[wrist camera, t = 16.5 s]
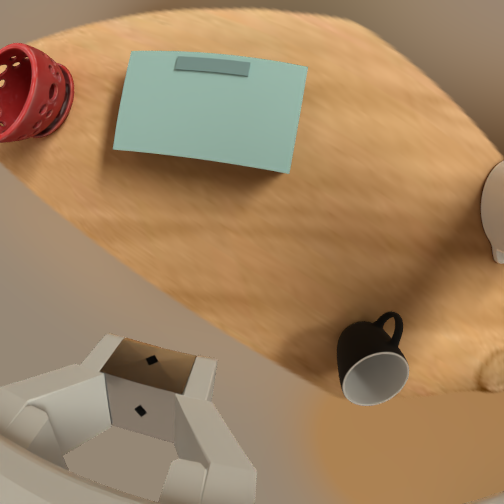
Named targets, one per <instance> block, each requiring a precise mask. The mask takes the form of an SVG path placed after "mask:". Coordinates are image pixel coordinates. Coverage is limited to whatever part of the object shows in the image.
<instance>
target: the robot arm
mask: <svg viewBox="0 0 504 504" xmlns="http://www.w3.org/2000/svg"><path fill="white" fill-rule="evenodd" d="M481 218H482V224H483V228H484V231H485V233H486V235H487V237H488V239H489V241H490V242H491V245H492V251H493V257H494V260H495V261H496V262H498V263H501V264H503V263H504V161H502V162H500V163H499V164H498V165H497V166H495V168H494V169H493V170H492V171H491V173H490V174H489V176H488V178H487V180H486V183H485V186H484V189H483V193H482V199H481ZM216 368H217V359H216V358H211V357H205V356H199V355H198V356H196V355H191V354H186V353H182V352H177V351H173V350H169V349H164V348H161V347H158V346H153V345H150V344H147V343H143V342H139V341H136V340H133V339H129V338H125V337H122V336H118V335H115V334H112V333H108V334H106V335H105V336H104V337H103V338H102V339H101V340H100V342H99V343H98V344H97V345H96V346H95V347H94V349H93V350H92V351H91V352H90V353H89V355H88V356H87V357H86V358H85V360H84V361H83V362H82V363H81V365H78V364H72V365H69V366H66V367H63V368H60V369H57V370H54V371H51V372H48V373H44V374H41V375H38V376H35V377H32V378H28V379H25V380H22V381H18V382H15V383H11V384H8V385H5V386H1V387H0V504H255V492H256V479H257V478H256V477H257V471H256V469H255V468H254V466H253V465H252V463H251V462H250V460H249V459H248V457H247V456H246V454H245V453H244V451H243V450H242V448H241V447H240V445H239V444H238V442H237V440H236V439H235V437H234V436H233V434H232V433H231V431H230V430H229V428H228V426H227V425H226V423H225V421H224V420H223V418H222V417H221V415H220V413H219V412H218V410H217V408H216V407H215V405H214V403H213V402H211V400H212V395H213V388H214V381H215V375H216ZM111 425H114V426H117V427H120V428H123V429H127V430H130V431H134V432H137V433H141V434H144V435H148V436H151V437H154V438H158V439H161V440H164V441H169V442H172V443H174V446H175V448H176V451H177V454H178V456H179V459H177V460H174V461H172V462H171V465H170V468H169V471H168V474H167V477H166V480H165V483H164V486H163V489H162V492H161V495H160V498H159V501H158V502H155V501H151V500H148V499H144V498H141V497H138V496H134V495H131V494H128V493H125V492H122V491H119V490H116V489H113V488H110V487H108V486H105V485H102V484H100V483H97V482H95V481H92V480H89V479H87V478H84V477H82V476H80V475H77V474H75V473H73V472H70V471H69V469H68V467H67V465H66V463H65V460H64V458H63V455H65V454H67V453H68V452H70V451H71V450H73V449H75V448H77V447H79V446H80V445H82V444H84V443H85V442H87V441H89V440H91V439H92V438H94V437H96V436H97V435H99V434H100V433H102V432H104V431H105V430H107V429H109V428H110V427H112V426H111ZM464 504H504V491H502V492H499V493H497V494H494V495H491V496H488V497H484V498H482V499H478V500H475V501H471V502H468V503H464Z"/></svg>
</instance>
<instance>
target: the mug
mask: <svg viewBox="0 0 504 504" xmlns="http://www.w3.org/2000/svg"><path fill="white" fill-rule="evenodd" d="M391 317H394V319H395V331H394V334H393V337H392V338H391V337H390V336H389V335H388V334H387V333H386V332H385V331H384V329H383V325H384V323H385V322H386V321H387V320H388V319H390V318H391ZM402 332H403V322H402V318H401V317H400V315H399V314H398V313H396V312H392V311H391V312H387V313H385V314H383V315H382V316H381V317H380V318H379V319H378V320H377V321H375V322H374V323H371V322H366V321H362V322H357V323H354V324H352V325H350V326H349V327H347V328H346V329H345V330H344V331H343V333H342V334H341V336H340V338H339V341H338V346H337V363H338V372H339V378H340V383H341V387H342V391H343V393H344V395H345V397H346V398H347V399H348V400H349V401H350V402H352V403H354V404H357V405H362V406H372V405H377V404H380V403H383V402H385V401H387V400H389V399H391V398H392V397H394V396H395V395H396V394H397V393H398V392H399V391H400V390H401V389H402V388H403V387H404V385H405V383H406V381H407V379H408V376H409V366H408V363H407V361H406V359H405V357H404V355H403V353H402V352H401V350H400V349H399V348H398V345H399V342H400V339H401V336H402Z"/></svg>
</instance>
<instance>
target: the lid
mask: <svg viewBox="0 0 504 504" xmlns="http://www.w3.org/2000/svg"><path fill="white" fill-rule="evenodd" d="M307 69H308V67H305V66H300V65H295V64H290V63H284V62H278V61H272V60H265V59H259V58H251V57H243V56H235V55H225V54H214V53H200V52H181V51H132V52H131V56H130V60H129V64H128V68H127V73H126V77H125V82H124V87H123V92H122V97H121V102H120V108H119V113H118V119H117V125H116V131H115V138H114V145H113V149H114V150H125V151H135V152H145V153H155V154H164V155H172V156H180V157H188V158H195V159H203V160H210V161H217V162H223V163H230V164H236V165H242V166H248V167H254V168H260V169H266V170H271V171H277V172H282V173H287V174H289V172H290V167H291V161H292V156H293V150H294V145H295V139H296V134H297V128H298V122H299V117H300V111H301V105H302V99H303V93H304V87H305V81H306V76H307Z"/></svg>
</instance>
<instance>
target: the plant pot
mask: <svg viewBox="0 0 504 504" xmlns="http://www.w3.org/2000/svg"><path fill="white" fill-rule="evenodd" d="M14 56H16V57H15V58H11V57H14ZM25 57H28V58H25ZM16 62H20V64H19V65H17V66H12V65H13V64H14V63H16ZM1 65H7V68H6V70H5V71H4V72H2V73H1V74H0V81H1V80H5V82H4V85H3V86H2V87H0V123H2V124H3V125H4V126H1V125H0V143H4V142H13V141H20V140H24V139H27V138H30V137H33V138H40V137H44V136H47V135H49V134H51V133H52V132H54V131H55V130H56V129H57V128H58V127H59V126H60V125H61V124H62V123H63V122H64V120H65V119H66V117H67V115H68V113H69V111H70V109H71V106H72V102H73V97H74V83H73V79H72V76H71V74H70V72H69V70H68V69H67V68H66V67H65V66H63V65H61V64H59V63H56V62H55V61H54V60H53V59H52V58H50V57H49V56H48V55H46V54H45V53H44V52H42V51H40V50H38V49H36V48H34V47H31V46H29V45H26V44H22V43H13V44H10V45H7V46H5V47H4V48H2V49H0V66H1Z"/></svg>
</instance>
